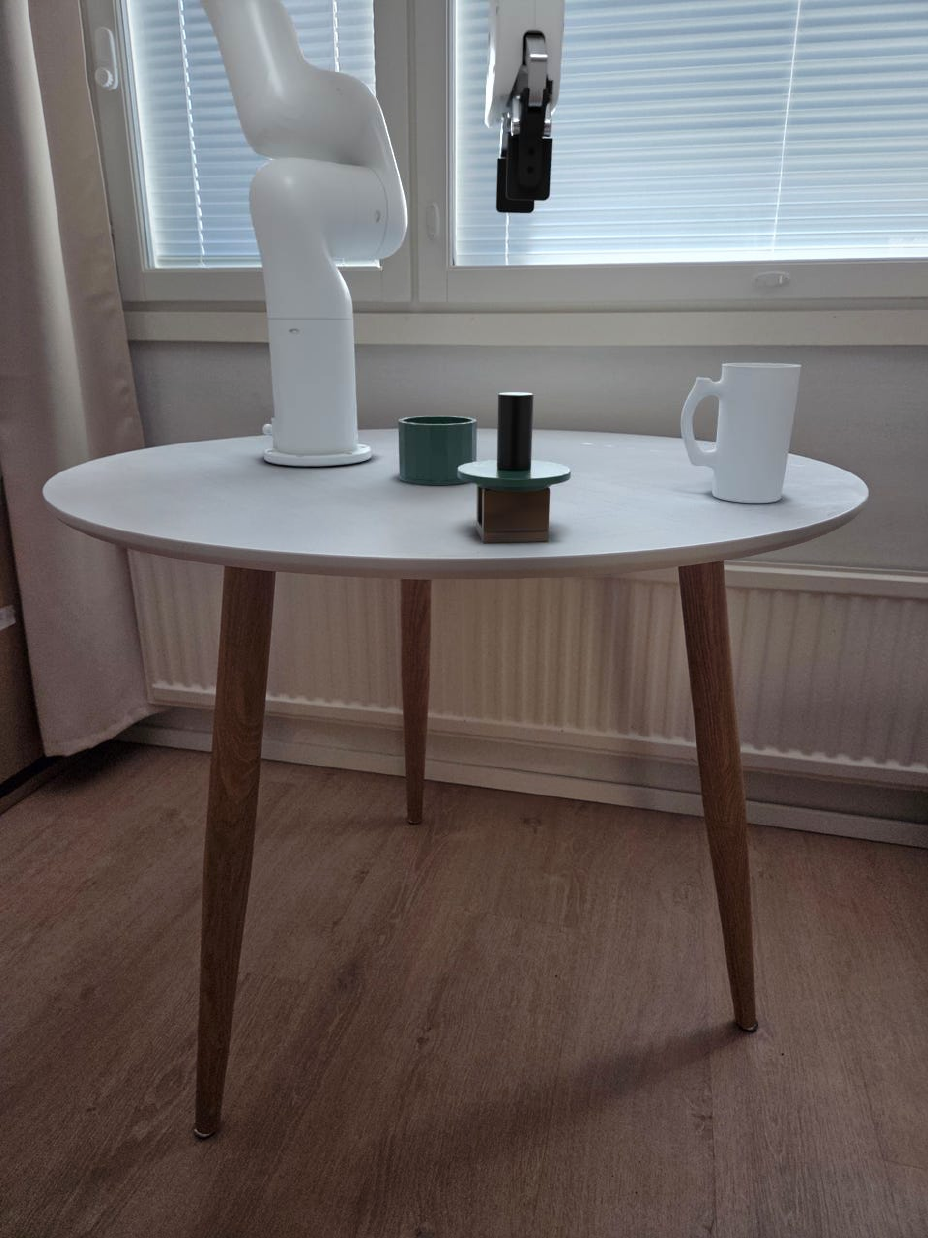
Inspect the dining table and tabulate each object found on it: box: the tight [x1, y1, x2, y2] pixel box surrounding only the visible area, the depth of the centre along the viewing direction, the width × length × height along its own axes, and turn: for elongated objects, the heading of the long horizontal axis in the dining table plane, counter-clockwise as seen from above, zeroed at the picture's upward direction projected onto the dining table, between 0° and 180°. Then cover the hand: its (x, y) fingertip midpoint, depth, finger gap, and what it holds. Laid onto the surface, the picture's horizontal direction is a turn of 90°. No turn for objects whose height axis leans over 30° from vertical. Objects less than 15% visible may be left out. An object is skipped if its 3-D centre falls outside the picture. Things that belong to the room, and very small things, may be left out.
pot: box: [397, 415, 478, 486], centre depth 88 cm, size 8×8×6 cm
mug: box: [680, 362, 802, 504], centre depth 78 cm, size 10×7×12 cm, turn 84°
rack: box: [475, 485, 551, 544], centre depth 65 cm, size 5×4×4 cm
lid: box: [457, 391, 572, 492], centre depth 63 cm, size 9×9×7 cm
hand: (520, 206), depth 67 cm, fingers open, 9 cm apart
